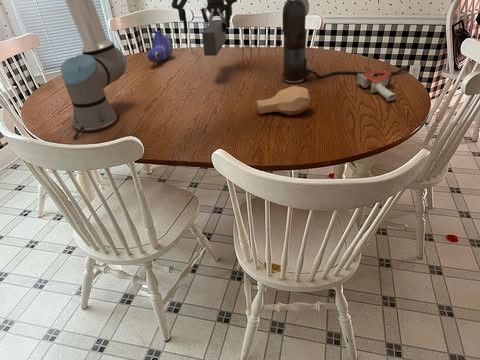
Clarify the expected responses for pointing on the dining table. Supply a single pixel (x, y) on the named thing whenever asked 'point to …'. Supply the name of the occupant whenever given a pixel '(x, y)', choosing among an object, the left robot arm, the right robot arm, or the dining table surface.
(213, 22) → the bar
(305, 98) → the squash
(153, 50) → the toy
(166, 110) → the dining table surface
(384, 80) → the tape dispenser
